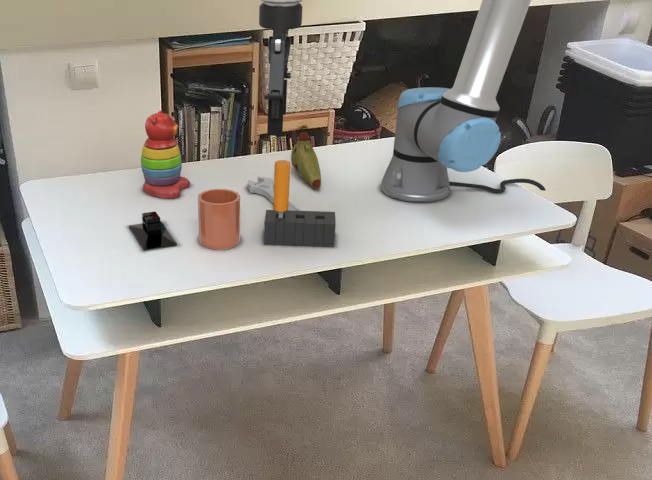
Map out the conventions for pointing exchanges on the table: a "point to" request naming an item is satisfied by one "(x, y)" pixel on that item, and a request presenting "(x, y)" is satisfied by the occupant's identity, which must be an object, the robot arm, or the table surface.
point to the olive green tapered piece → (306, 161)
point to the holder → (300, 228)
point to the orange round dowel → (281, 186)
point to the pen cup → (219, 218)
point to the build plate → (152, 233)
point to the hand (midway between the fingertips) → (276, 124)
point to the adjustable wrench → (266, 190)
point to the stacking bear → (162, 158)
